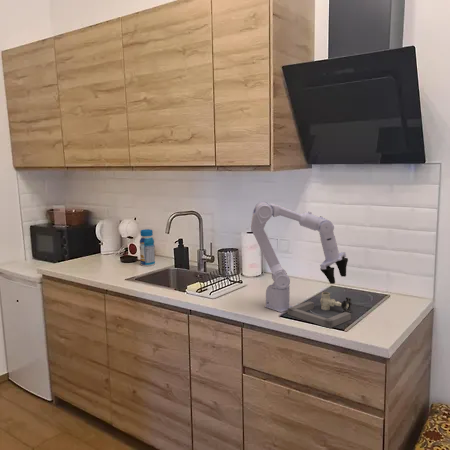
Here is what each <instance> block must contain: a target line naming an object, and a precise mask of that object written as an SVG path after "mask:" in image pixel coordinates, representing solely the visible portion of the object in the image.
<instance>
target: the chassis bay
mask: <svg viewBox="0 0 450 450" xmlns="http://www.w3.org/2000/svg"><path fill="white" fill-rule="evenodd" d="M314 307H315V303H314V302H313V301H309V300H308V301H306V302H302V303H300V304H296V305H294V306H293V307H290V308H288V310H287V315H288V316H291V317H294V318H297V319H300V320H303V321H305V322H306V321H307V322H309V323H313V324H316V325H318V326H322V327H324V328H328V329H333V328H334V327H336V326H339V325H341V324H344V323H347V322H349V321H350V320H351V319H352V313H350V312H349V313H348V312H343V311H342V312H340V313H338V314H336V315H334V316H330V317H324V316H321V315H318V314H315V313H311V312H308V311H312V310H314V309H315V308H314Z"/></svg>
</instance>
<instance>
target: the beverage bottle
mask: <svg viewBox="0 0 450 450" xmlns="http://www.w3.org/2000/svg"><path fill="white" fill-rule="evenodd" d="M153 231H154V230H152V229H149V228H145V229H141V230H140V239H139V258H140V266H143V267H151V266H154V265H155V264H156V261H155V260H156V259H155V256H156V255H155V240H154V238H153Z"/></svg>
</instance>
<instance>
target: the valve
mask: <svg viewBox="0 0 450 450" xmlns="http://www.w3.org/2000/svg"><path fill="white" fill-rule="evenodd" d="M320 305H321V307H320V308H321V310H323V311H330V309H331V307H335V306H336V307H341V309H342V313H343V312H348V313H350V312H351V311H352V308H351V306H352V305H353V303H352V298H349V297H345V300H343V302H341V301H336V299H335V298H331V292H328V291H323V292H321V298H320Z"/></svg>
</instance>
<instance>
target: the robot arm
mask: <svg viewBox="0 0 450 450" xmlns="http://www.w3.org/2000/svg"><path fill="white" fill-rule="evenodd" d="M280 216H281V217H284V218H287V219H290V220H294V221H297V222H298V224H299V226H301V227H303V228H306V229H310V230H313V231H318V232H319V237H320V242H321V247H322V251H323V255H324V257H325V260H324V261H323V262H322V263H321V264H319V267H320V271H321V272H322V273H323V274H324V276H325V277H326V278H327V281H328V283H330V284H331V285H334V284H336V278H335V267H331V266H332V265H334V264H335V265H336V267H337V268H338V269H337V270H338V272H339V274H340V277H341V278H342V277H343V278H344V277H345V278H346V276H347V266H348V262H349V259H348V257H347V254H346V252H345V251H344V252H343V251H341V252H339V248H338V244H337V241H336V236H335V233H334V231H335V230H334V229H335V226H334V224H333V223H332V222H331V221H330V220H329V219H328V218H325V217H323V216H318V215H315V214H313V213H312V212H311V211H305V212H301V213H300V212H297V211H294V210H293V209H290V208H287V207H284V206H282V205H280V204H276V203H272V202H271V203H270V202H269V203H268V201H267V202H266V201H259V202H258V203H257V204H256V205H255V207H254V209H253V211H252V217H251V224H250V228H251V232H252V234H253V236H254V237H255V239H256V242H257V244H258V246H259V248H260V250H261V252H262V254H263V257H264V259H265V261H266V263H267V265H268V267H269V269H270V272H271V279H272V281H273V283H272V284H269V285H268V286H267V288H266V291H265V305H264V307H265V308H266V309H270V310H272V311H277V312H278V313H283V312H286V311H287V312H288V308H290V307H293V306H292V305H290V296H291V295H290V293H291V292H290V290H291V288H290V286H291V285H290V284H291V279H290V276H289V275H288V273H287V271H286V270H285V269H284V268H283V267H282V265H281V264H280V261H279V259H278V257H277V255H276V252H275V251H274V248H273V246H272V244H271V242H270V239H269V238H268V235H267V233H266V231H265V229H264V228H265V227H266V224H267V222H268V221H269V220H270V219H271V218H272V217H274V218H275V217H280Z"/></svg>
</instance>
